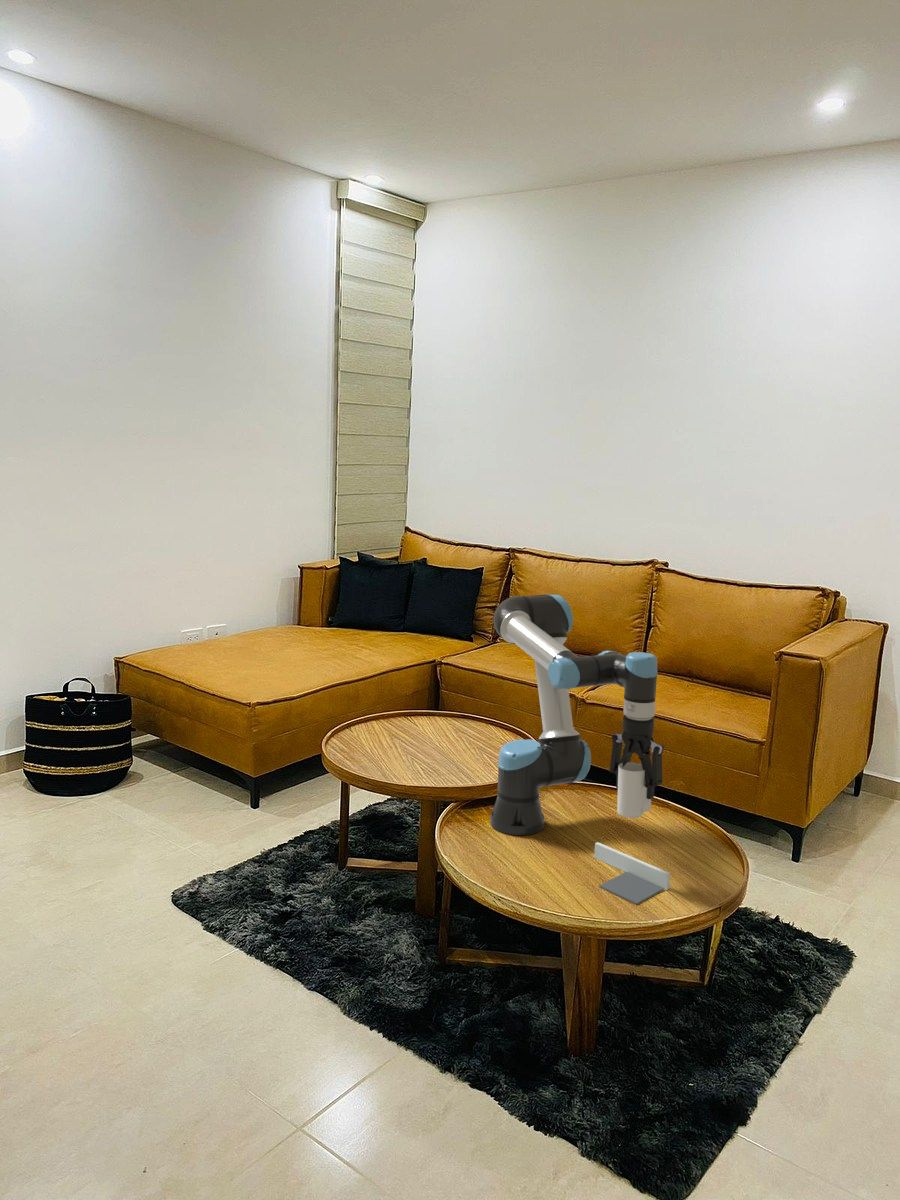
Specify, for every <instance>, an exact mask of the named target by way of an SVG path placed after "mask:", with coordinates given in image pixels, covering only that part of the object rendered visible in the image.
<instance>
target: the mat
mask: <svg viewBox="0 0 900 1200" xmlns="http://www.w3.org/2000/svg"><path fill="white" fill-rule="evenodd" d="M598 887H599V888H600V889H602V890H604V891H606V892H607V893H608V892H609V893H611V894H612V895H615V896H617V897H619V898H621V899H624V900H626V901H627V902H629V903H632V904H634V905H636V906H637V905H639V904H641V903H642V902H645V901H646V900H649V899H650V898H652V897H653V896H655V895H658V894H659V893H661V892H663V891H664V890H665V889H664V888H662V887H659V886H657V885H655V884H653V883H651V882H648V881H646V880H644V879H642V878H639V877H637V876H635V875H633V874H630V873H628V872H625V871H624V872H623V873H621V874H619V875H617V876H615V877H613V878H611V879H609V880H608V881H605V882H603V883H601V884H599V885H598Z"/></svg>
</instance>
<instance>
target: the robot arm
mask: <svg viewBox="0 0 900 1200" xmlns="http://www.w3.org/2000/svg"><path fill="white" fill-rule="evenodd" d="M492 621H493V626H494V630H495V631H496V633H497V635H499V637H500V638H501V639H503V640H504V641H505V642H507V643H510V644H515V645H516V646H517V647H518V648H520V650H522V651H523V652H525V653H526V654H527V655H528V656H530V657H531V658H532V659H533V660H534V666H535V667H534V668H535V675H536V683H537V690H538V698H539V706H540V707H539V708H540V715H541V723H542V733H541V734H540V735H539V737H538V741H537V740H534V739H530V738H529V739H524V738H521V739H514V740H512V741H508V742H505V744H503V745H502V747H501V748H500V750H499V755H498V761H497V766H498V770H497V772H498V774H497V797H496V800H495V802H494V805H493V808H492V810H491V813H490V821H489V823H490V826H491V827H492V828H493V829H495V830H496V831H498V832H500V833H502V834H507V835H511V836H512V835H513V836H529V835H533V834H534V835H535V834H536V833H539V832H541V831H542V830H543V829H544V828H545V816H544V813H543V810H542V805H541V802H540V788H542V787H551V786H556V785H563V784H564V785H565V784H572V783H574V782H580V781H582V780H584V779H585V778H586V777H587V776H588V773H589V771H590V769H591V764H592V763H591V762H592V754H591V749H590V747H589V745H588V743H587V741H585V740H583V739H581V737H580V736H581V735H580V732H578V731H577V730H576V729H575V727H574V723H573V715H572V708H571V700H570V691H569V690H571V689H576V688H577V689H578V688H585V687H586V688H587V687H597V686H604V685H617V686H620V687H622V688H624V689H623V691H624V693H623V694H624V695H623V711H622V712H623V717H622V726H621V727H622V733H620V732H618V733H615V734H612V735H611V740H612V750H611V756H610V764H609V773H613V774H614V776H615V778H616V779H615V789H617V790H618V766H619V764H621V763H623V767H624V766H625V764H626V763H627V762H631V760H632V756H633V754H636V755H637V756H638V759H639V760H640V764H642V768H643V770H645V776H644V777H645V785H644V786H643V800H642V811H643V813H646V812H648V811H650V810H651V809H652V799H653V798H654V797H655V789H656V787H657V786H660V785H662V784H663V752H664V747H665V746H664V745H663V744H658V743H656V742H655V740H654V738H653V735H654V732H655V731H654V730H655V718H654V716H656V715H655V714H656V713H655V712H656V695H657V681H658V657H656V655H654V654H653V653H650V652H642V651H634V652H629V653H628V654H626V655H625V654H622V653H620V652H618V651H616V650H615V651H611V650H603V651H602V652H600V653H599V654H597V655H583V656H578V655H576V654H575V653H574V652H572V651H571V650H570V649H569V648H567V647H566V646H564V644H565V642H566V641H567V639H568V635H567V634H569V633H570V632H571V630H572V628H573V624H574V615H573V611H572V608H571V606H570V604H569V602H568V601H567V600H566V599H565V598H564V597H563V596H561V595H559V594H548V593H547V594H536V595H533V594H532V595H516V596H512V597H508V598H506V599H505V600H503V601H501V602H500V604H499V605H498V606H497V608H496V609H495V612H494V614H493V620H492ZM623 744H624V748H623ZM651 753H652V754H651Z"/></svg>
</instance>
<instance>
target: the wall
mask: <svg viewBox="0 0 900 1200" xmlns="http://www.w3.org/2000/svg"><path fill="white" fill-rule="evenodd" d="M593 858H594V859H596V860H598V861H600V862H603V863H605V864H607V865H610V866H612V867H614V868H616V869H618V870H620V871H622V872H624V873H625V872H628V873H630V874H633V875H635V876H637V877H639V878H642V879H644V880H646V881H648V882H651V883H653V884H655V885H657V886H659V887H662V888H664V890H665V891H667V890H669V889H670V881H671V872H668V871H666V870H663V869H662V868H659V867H657V866H654V865H653V864H650V863H647V862H645V861H642V859H641V860H640V859H638V858H636V857H633V856H631V855H629V854H626V853H624V852H622V851H619V850H617V849H614V848H613V847H610V846H608V845H606V844H604V843H601V842H598V841H597V842H595V843H594V856H593Z"/></svg>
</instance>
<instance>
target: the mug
mask: <svg viewBox="0 0 900 1200" xmlns="http://www.w3.org/2000/svg"><path fill="white" fill-rule="evenodd" d="M644 776H645V770H643V768H642V764H641V763H638V762H631V761H630V762H627V763H626V764H625V766H624V767H623V763H621V764H619V766H618V789H617V800H616V801H617V809H616V813H617V814H618V815H619V816H621V817H623V818H628V819H638V818H641V817H642V816H643V815H644V812H643V811H642V800H643V786H644V785H646V781H645V777H644Z"/></svg>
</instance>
